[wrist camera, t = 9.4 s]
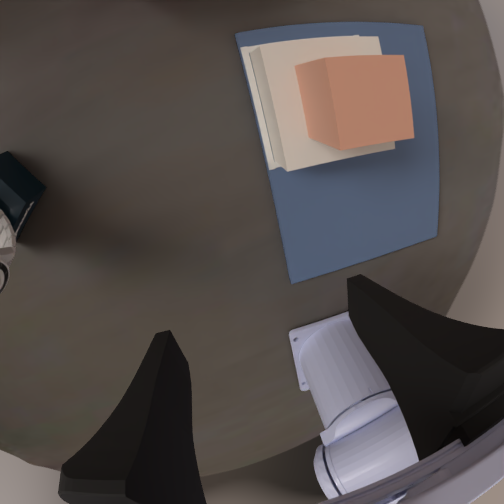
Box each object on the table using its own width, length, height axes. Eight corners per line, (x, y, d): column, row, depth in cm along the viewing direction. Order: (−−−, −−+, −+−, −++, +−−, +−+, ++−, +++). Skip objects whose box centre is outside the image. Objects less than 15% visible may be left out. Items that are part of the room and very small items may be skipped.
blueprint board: (433, 233, 25) (437, 236, 24) (289, 280, 24) (292, 284, 24) (418, 26, 16) (423, 25, 15) (234, 34, 15) (235, 32, 15)
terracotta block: (372, 126, 16) (414, 137, 12) (308, 137, 16) (340, 150, 12) (361, 59, 14) (403, 54, 10) (294, 65, 14) (324, 57, 10)
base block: (370, 140, 19) (395, 148, 17) (274, 160, 19) (287, 171, 16) (354, 42, 16) (378, 36, 13) (249, 53, 15) (259, 45, 13)
